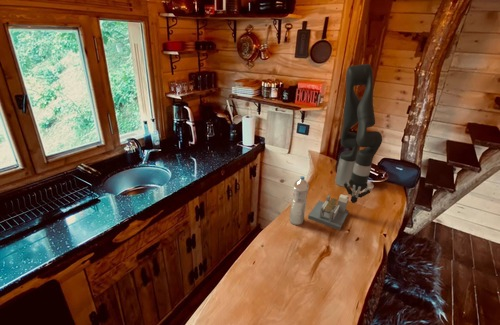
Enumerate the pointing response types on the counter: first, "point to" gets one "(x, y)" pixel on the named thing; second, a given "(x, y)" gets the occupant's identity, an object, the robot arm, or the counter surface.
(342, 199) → the latch
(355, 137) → the robot arm
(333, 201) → the tan flat bar
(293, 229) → the counter surface
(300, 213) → the water bottle
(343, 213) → the clip base
